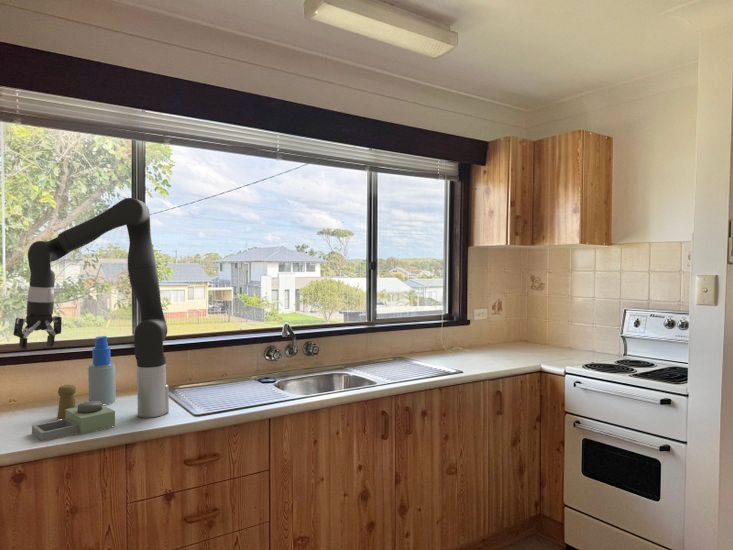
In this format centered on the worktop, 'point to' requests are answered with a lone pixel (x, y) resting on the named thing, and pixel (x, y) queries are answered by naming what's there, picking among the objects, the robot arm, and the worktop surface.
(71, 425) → the stepped tray with pebble
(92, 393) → the spray bottle
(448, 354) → the worktop surface
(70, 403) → the olive brown upright piece
